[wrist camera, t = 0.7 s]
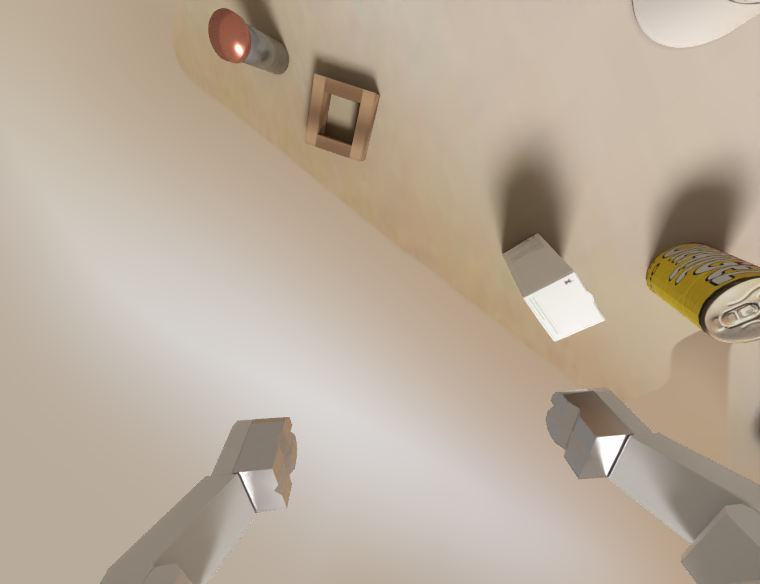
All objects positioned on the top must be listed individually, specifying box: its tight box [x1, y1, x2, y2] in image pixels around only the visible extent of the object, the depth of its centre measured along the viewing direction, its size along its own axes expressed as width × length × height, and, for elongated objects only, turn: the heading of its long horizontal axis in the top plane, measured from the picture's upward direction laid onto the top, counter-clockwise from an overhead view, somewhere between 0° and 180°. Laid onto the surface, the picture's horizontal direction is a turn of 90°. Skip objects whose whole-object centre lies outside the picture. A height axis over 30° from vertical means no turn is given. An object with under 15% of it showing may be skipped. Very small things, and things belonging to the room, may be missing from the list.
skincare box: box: [503, 233, 605, 341], centre depth 42 cm, size 8×7×16 cm
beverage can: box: [646, 243, 760, 343], centre depth 40 cm, size 9×9×12 cm
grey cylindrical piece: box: [208, 8, 289, 74], centre depth 39 cm, size 5×5×11 cm
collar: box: [305, 73, 380, 161], centre depth 45 cm, size 9×9×3 cm
